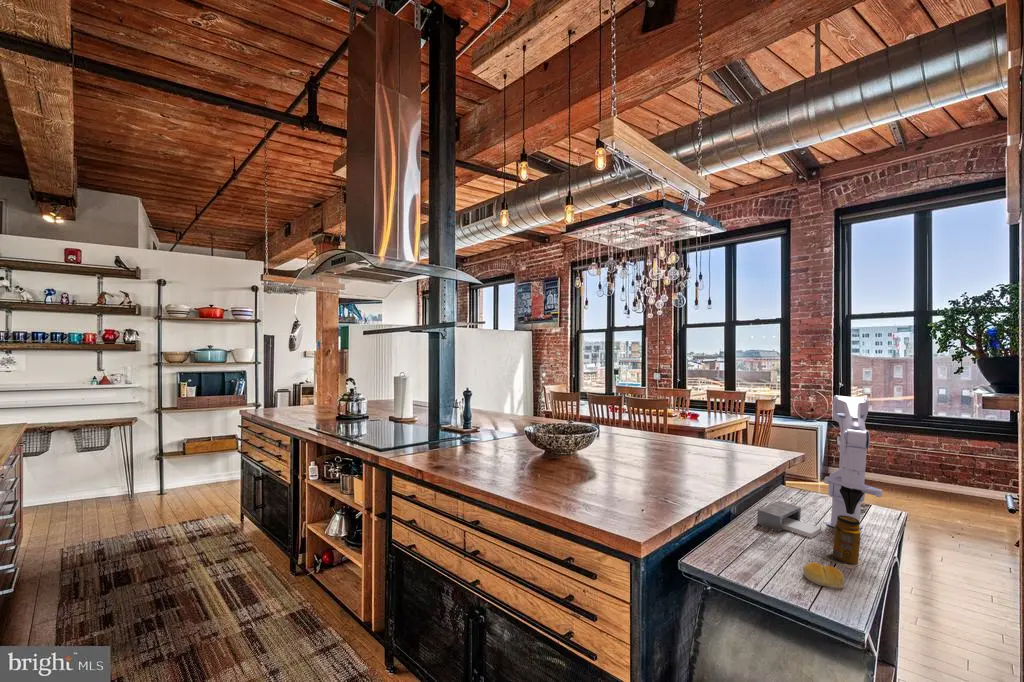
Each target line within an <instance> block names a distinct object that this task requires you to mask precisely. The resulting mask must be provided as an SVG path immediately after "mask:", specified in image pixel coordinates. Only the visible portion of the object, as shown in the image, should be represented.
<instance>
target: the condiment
mask: <svg viewBox="0 0 1024 682" xmlns="http://www.w3.org/2000/svg"><path fill="white" fill-rule="evenodd" d="M836 523H837V524H836V525H835V527H834V532H833V533H834V534H833V546H832V552H831V553H828V554H826V555H823V556H822V558H824V559H825V560H827V561H830V562H831V563H835V564H836V565H839V566H842V567H845V568H848V569H851V570H852V569H854V568H855V567H856V568H857V567H858V566H860V565H862V564H864V563H865V561H863V560H861V559H859V558H860V557H859V556H860V544H861V542H860V541H861V534H862V533H861V530H860V529H859V528H860V526H859V524H860V523H861V521H860V522H859V520H857V519H856V518H853V517H850V516H845V515H839V516H838V517H837V522H836ZM860 525H861V524H860Z"/></svg>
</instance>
